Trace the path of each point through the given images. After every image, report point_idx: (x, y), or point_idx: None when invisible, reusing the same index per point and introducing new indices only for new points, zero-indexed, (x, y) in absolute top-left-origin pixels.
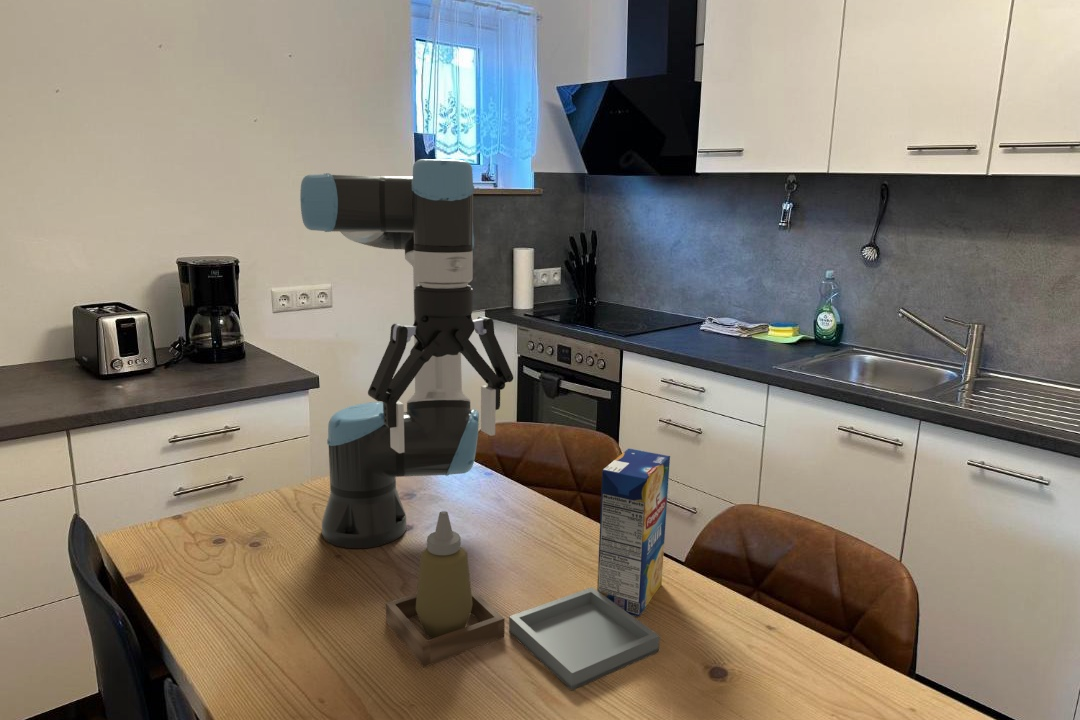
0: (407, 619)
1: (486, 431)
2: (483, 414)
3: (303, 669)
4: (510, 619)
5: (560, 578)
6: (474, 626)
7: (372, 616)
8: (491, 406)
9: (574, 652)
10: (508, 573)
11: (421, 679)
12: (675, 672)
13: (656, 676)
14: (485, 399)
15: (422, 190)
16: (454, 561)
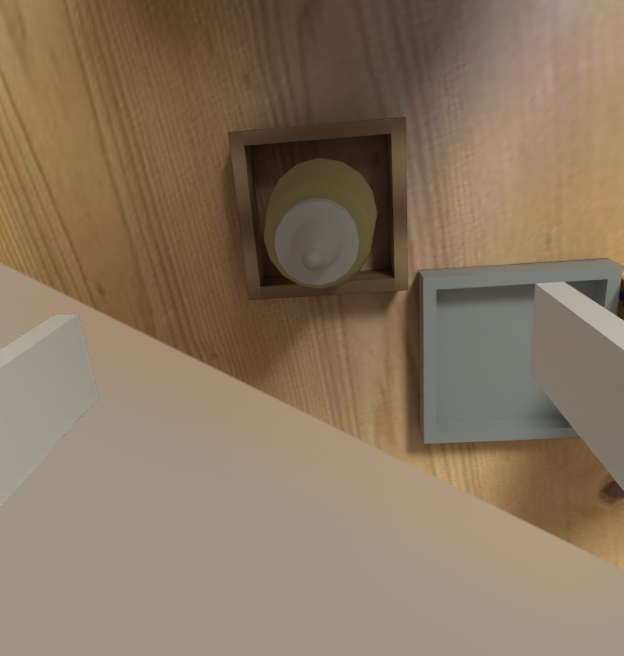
0: (249, 210)
1: (535, 341)
2: (573, 342)
3: (80, 204)
4: (422, 280)
5: (620, 149)
6: (349, 287)
7: (216, 100)
8: (602, 456)
9: (473, 375)
10: (538, 71)
11: (242, 313)
12: (570, 463)
13: (540, 457)
14: (619, 414)
15: None
16: (324, 284)
